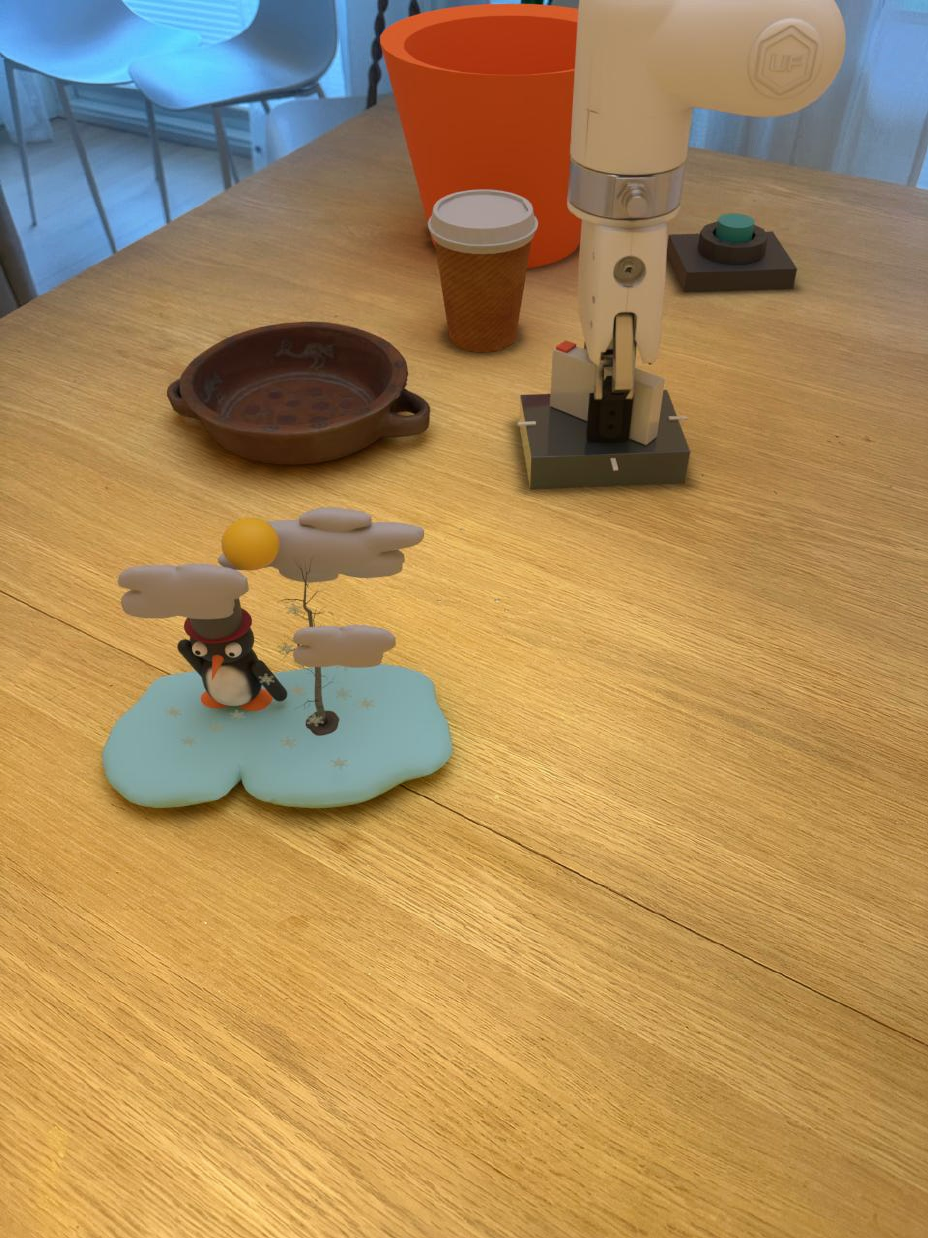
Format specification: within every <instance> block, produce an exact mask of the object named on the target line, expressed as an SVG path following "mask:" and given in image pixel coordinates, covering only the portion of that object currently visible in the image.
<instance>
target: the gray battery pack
mask: <svg viewBox="0 0 928 1238" xmlns="http://www.w3.org/2000/svg"><path fill="white" fill-rule="evenodd" d="M612 373H613V367H604V380H605V378H606V376H611V375H612ZM594 377H595V364H594V363H593V362H592V361H591V360H590V359H589V356H588V352H587V350H586V349H584V347H580V346H577V343H575V342H572V341H569V340H566V339H565V340H564V341H561V342H560V343H559V344H558V345H556V346H555V347H554V348H553V349H552V357H551V377H550V392H549V394H550V406H551V407H553V408H556V409H558V410H561V411H563V412H566V413H568V414H570V415H573V416H575V417H578V418H580V419H583V420H585V421H587V418H588V405H589V393H594ZM665 381H666V379H665V378H664V377H661V376H658V375H655V374H653V373H650V372H648V371H645V370H642V369H639V368H636V367H635V378H634V393H633V394H634V399H633V407H632V416H631V425H630V433H629V439H632V440H634V441H637V442H639V443H642V444H644V445H647V444H648V443H650V442H651V441H652V440H653V439H655V438H656V437H657V433H658V426H659V419H660V411H661V404H662V397H663V390H665Z"/></svg>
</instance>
